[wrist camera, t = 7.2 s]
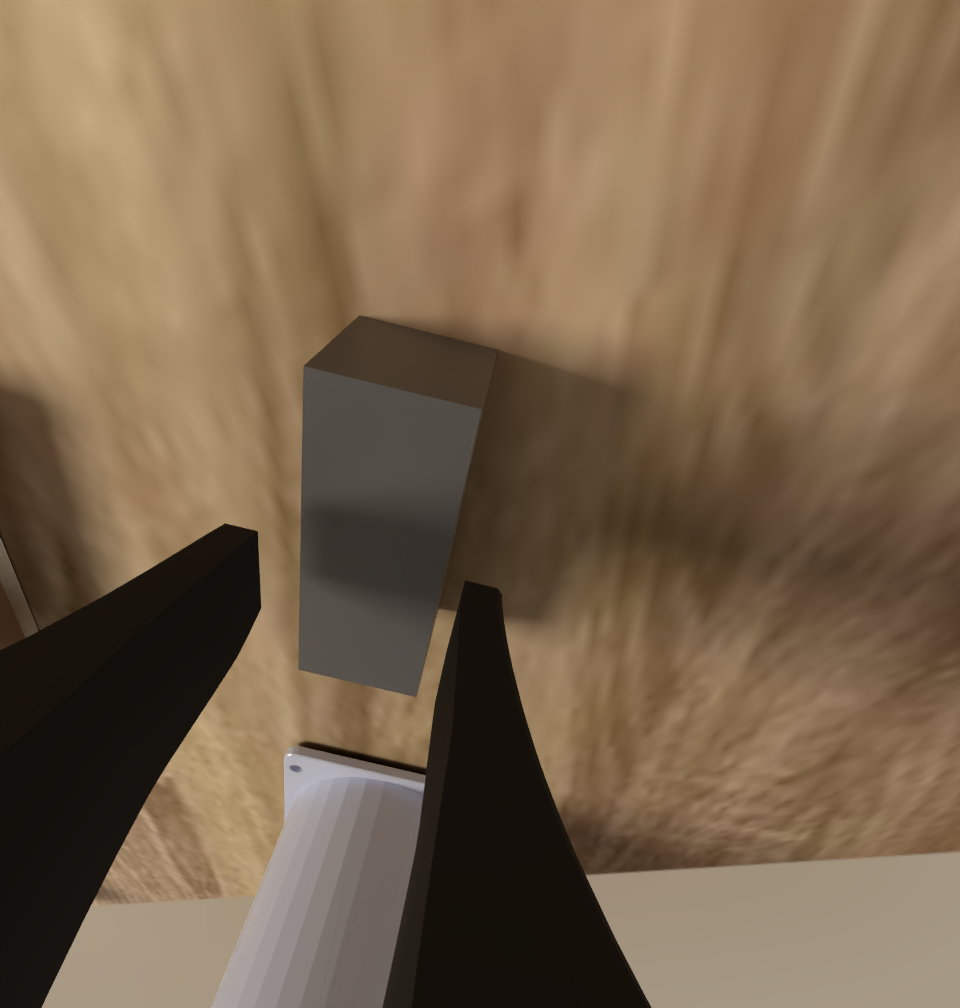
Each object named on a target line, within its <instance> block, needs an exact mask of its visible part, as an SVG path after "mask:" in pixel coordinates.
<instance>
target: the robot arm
mask: <svg viewBox="0 0 960 1008" xmlns="http://www.w3.org/2000/svg"><path fill="white" fill-rule="evenodd" d="M260 609H261V595H260V573H259V551H258V531H254V530H250V529H246V528H242V527H238V526H233V525H229V524H223V525H222V526H220V527H218V528H217V529H215V530H213V531H212V532H210V533H208V534H207V535H205V536H203V537H202V538H200V539H198V540H197V541H195V542H193V543H192V544H190V545H188V546H187V547H185V548H184V549H182V550H180V551H179V552H177V553H175V554H174V555H172V556H171V557H169V558H167V559H166V560H164V561H162V562H161V563H159V564H157V565H156V566H154V567H152V568H151V569H149V570H147V571H146V572H144V573H142V574H141V575H139V576H137V577H136V578H134V579H132V580H130V581H129V582H127V583H125V584H124V585H122V586H120V587H119V588H117V589H115V590H113V591H112V592H110V593H108V594H107V595H105V596H103V597H101V598H99V599H98V600H96V601H94V602H92V603H90V604H89V605H87V606H85V607H83V608H81V609H79V610H77V611H76V612H74V613H72V614H70V615H68V616H66V617H64V618H63V619H61V620H59V621H57V622H55V623H53V624H51V625H50V626H48V627H46V628H44V629H42V630H40V631H38V632H36V633H34V634H32V635H30V636H28V637H26V638H24V639H22V640H20V641H18V642H16V643H14V644H12V645H10V646H8V647H6V648H4V649H2V650H0V1008H42V1005H43V1003H44V1001H45V999H46V997H47V994H48V992H49V990H50V988H51V986H52V984H53V982H54V980H55V978H56V976H57V974H58V972H59V970H60V968H61V966H62V964H63V961H64V959H65V957H66V955H67V953H68V951H69V949H70V947H71V945H72V943H73V941H74V938H75V937H76V934H77V933H78V931H79V928H80V926H81V924H82V922H83V920H84V918H85V916H86V914H87V912H88V910H89V908H90V906H91V904H92V902H93V900H94V898H95V897H96V895H97V893H98V891H99V889H100V887H101V885H102V883H103V881H104V879H105V877H106V875H107V873H108V871H109V869H110V867H111V865H112V863H113V861H114V859H115V857H116V855H117V853H118V851H119V850H120V848H121V846H122V844H123V842H124V840H125V838H126V836H127V835H128V833H129V831H130V829H131V827H132V825H133V823H134V822H135V820H136V818H137V816H138V814H139V812H140V810H141V808H142V807H143V805H144V803H145V801H146V799H147V797H148V795H149V794H150V792H151V790H152V789H153V787H154V785H155V784H156V782H157V780H158V779H159V777H160V775H161V774H162V772H163V770H164V769H165V767H166V766H167V764H168V763H169V761H170V759H171V758H172V756H173V755H174V753H175V752H176V750H177V749H178V747H179V746H180V744H181V743H182V741H183V740H184V738H185V737H186V735H187V734H188V732H189V730H190V729H191V727H192V726H193V724H194V723H195V721H196V720H197V718H198V717H199V715H200V714H201V712H202V711H203V709H204V708H205V706H206V705H207V703H208V701H209V700H210V698H211V697H212V695H213V694H214V692H215V691H216V689H217V688H218V686H219V685H220V683H221V681H222V680H223V678H224V677H225V675H226V674H227V672H228V671H229V669H230V667H231V666H232V664H233V663H234V661H235V660H236V658H237V656H238V654H239V652H240V650H241V648H242V646H243V644H244V643H245V641H246V639H247V637H248V635H249V633H250V630H251V628H252V626H253V624H254V622H255V620H256V618H257V616H258V614H259V611H260ZM284 799H285V824H284V826H283V829H282V831H281V834H280V836H279V839H278V841H277V844H276V846H275V849H274V851H273V854H272V856H271V859H270V861H269V864H268V866H267V869H266V872H265V874H264V877H263V879H262V882H261V884H260V887H259V889H258V892H257V894H256V897H255V899H254V902H253V904H252V907H251V909H250V912H249V914H248V917H247V919H246V922H245V924H244V927H243V930H242V932H241V934H240V937H239V939H238V942H237V945H236V947H235V950H234V952H233V955H232V957H231V960H230V962H229V965H228V967H227V970H226V972H225V975H224V977H223V980H222V982H221V985H220V987H219V990H218V992H217V995H216V998H215V1000H214V1002H213V1005H212V1007H211V1008H651V1006H650V1004H649V1002H648V1001H647V999H646V997H645V995H644V993H643V991H642V989H641V987H640V985H639V984H638V981H637V980H636V978H635V976H634V974H633V972H632V970H631V968H630V966H629V964H628V962H627V960H626V958H625V956H624V955H623V953H622V950H621V949H620V947H619V945H618V943H617V941H616V939H615V937H614V935H613V933H612V931H611V929H610V927H609V924H608V922H607V920H606V918H605V916H604V914H603V912H602V910H601V907H600V905H599V903H598V901H597V899H596V897H595V894H594V892H593V890H592V888H591V886H590V884H589V882H588V880H587V878H586V875H585V873H584V871H583V869H582V867H581V865H580V863H579V860H578V858H577V856H576V854H575V851H574V849H573V847H572V844H571V842H570V839H569V837H568V835H567V832H566V830H565V827H564V825H563V823H562V820H561V818H560V815H559V813H558V810H557V808H556V805H555V802H554V800H553V797H552V795H551V792H550V789H549V787H548V784H547V782H546V779H545V776H544V773H543V770H542V768H541V765H540V762H539V759H538V756H537V753H536V750H535V747H534V743H533V740H532V737H531V734H530V731H529V728H528V724H527V721H526V718H525V714H524V711H523V707H522V703H521V700H520V696H519V692H518V688H517V684H516V680H515V676H514V672H513V668H512V663H511V658H510V654H509V648H508V643H507V638H506V632H505V625H504V618H503V609H502V594H501V593H500V591H499V590H498V588H494V587H490V586H485V585H481V584H477V583H473V582H469V581H465V583H464V587H463V591H462V595H461V599H460V603H459V606H458V610H457V614H456V618H455V622H454V625H453V629H452V633H451V637H450V641H449V645H448V648H447V652H446V657H445V661H444V666H443V670H442V674H441V679H440V683H439V688H438V692H437V697H436V701H435V708H434V715H433V723H432V731H431V738H430V746H429V754H428V762H427V770H426V775H423V774H418V773H414V772H410V771H405V770H401V769H397V768H392V767H388V766H384V765H379V764H375V763H371V762H366V761H362V760H358V759H353V758H349V757H345V756H340V755H336V754H332V753H327V752H323V751H319V750H314V749H310V748H306V747H301V746H291V747H290V748H288V750H287V752H286V754H285V757H284Z"/></svg>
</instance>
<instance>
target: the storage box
mask: <svg viewBox="0 0 960 1008" xmlns="http://www.w3.org/2000/svg"><path fill="white" fill-rule="evenodd" d="M36 632H38V628H37V626H36V623H35V621H34V618H33V616H32V614H31V611H30V609H29V606H28V604H27V601H26V599H25V596H24V594H23V591H22V589H21V587H20V584H19V582H18V579H17V577H16V574H15V572H14V569H13V567H12V565H11V562H10V560H9V557H8V555H7V552H6V550H5V547H4V545H3V542H2V540H1V538H0V650H2V649H4V648H6V647H8V646H10V645H12V644H14V643H16V642H18V641H20V640H22V639H24V638H26V637H28V636H30V635H32V634H34V633H36Z"/></svg>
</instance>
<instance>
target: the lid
mask: <svg viewBox="0 0 960 1008" xmlns="http://www.w3.org/2000/svg"><path fill="white" fill-rule="evenodd" d="M497 354H498V350H497V349H493V348H489V347H484V346H480V345H476V344H472V343H468V342H464V341H460V340H456V339H452V338H448V337H444V336H440V335H436V334H432V333H428V332H424V331H420V330H415V329H411V328H407V327H403V326H399V325H395V324H391V323H387V322H383V321H379V320H375V319H371V318H367V317H363V316H358V317H357V318H356V319H355V320H354V321H353V322H352V323H351V324H350V325H348V326H347V327H346V328H345V329H344V330H343V331H342V332H341V333H340V334H339V335H337V336H336V337H335V338H334V339H333V340H332V341H331V342H330V343H329V344H327V345H326V346H325V347H324V348H323V349H322V350H321V351H320V352H319V353H318V354H316V355H315V356H314V357H313V358H312V359H311V360H310V361H309V362H308V363H307V364H305V365H304V373H303V433H302V492H301V552H300V611H299V670H302V671H307V672H311V673H315V674H320V675H324V676H328V677H333V678H337V679H341V680H345V681H350V682H354V683H358V684H363V685H367V686H371V687H376V688H380V689H384V690H389V691H393V692H397V693H402V694H406V695H410V696H415V697H416V696H417V692H418V688H419V684H420V680H421V676H422V672H423V668H424V664H425V660H426V656H427V652H428V648H429V644H430V640H431V636H432V632H433V628H434V624H435V620H436V617H437V613H438V609H439V604H440V600H441V596H442V591H443V587H444V583H445V578H446V574H447V570H448V565H449V561H450V557H451V552H452V548H453V544H454V539H455V535H456V531H457V526H458V522H459V518H460V513H461V509H462V505H463V500H464V496H465V492H466V488H467V483H468V479H469V475H470V470H471V466H472V462H473V457H474V453H475V449H476V444H477V440H478V436H479V431H480V427H481V423H482V418H483V414H484V410H485V405H486V401H487V397H488V392H489V388H490V384H491V379H492V375H493V371H494V367H495V362H496V358H497Z"/></svg>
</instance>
